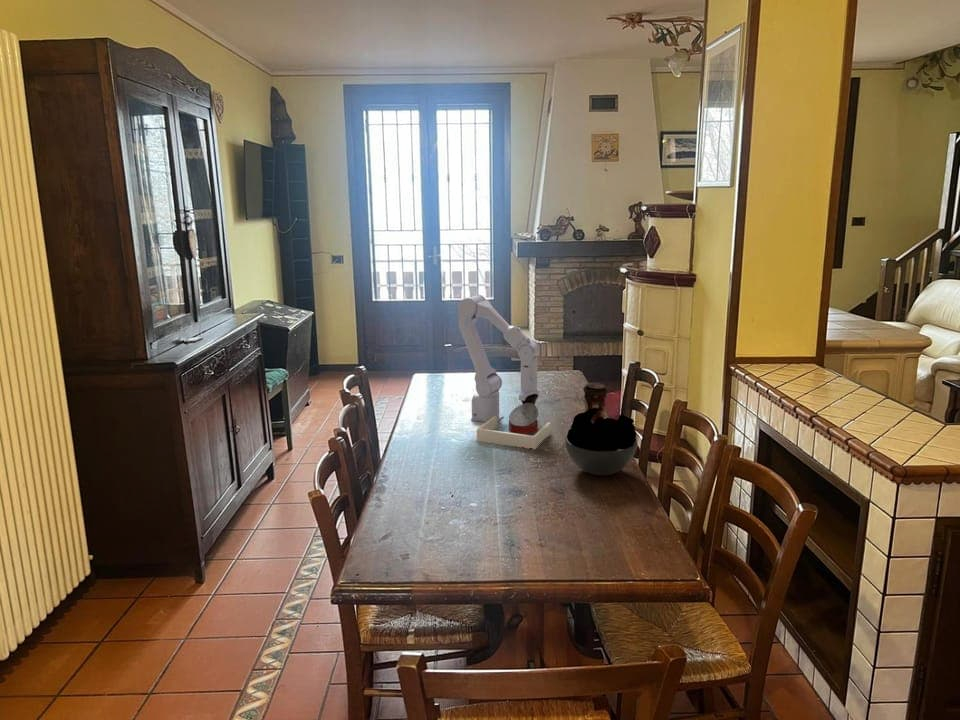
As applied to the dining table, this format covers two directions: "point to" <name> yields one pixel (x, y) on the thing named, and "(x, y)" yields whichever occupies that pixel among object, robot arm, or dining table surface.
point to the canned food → (524, 419)
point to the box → (510, 435)
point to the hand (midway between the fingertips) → (528, 414)
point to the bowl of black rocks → (601, 443)
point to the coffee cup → (595, 399)
